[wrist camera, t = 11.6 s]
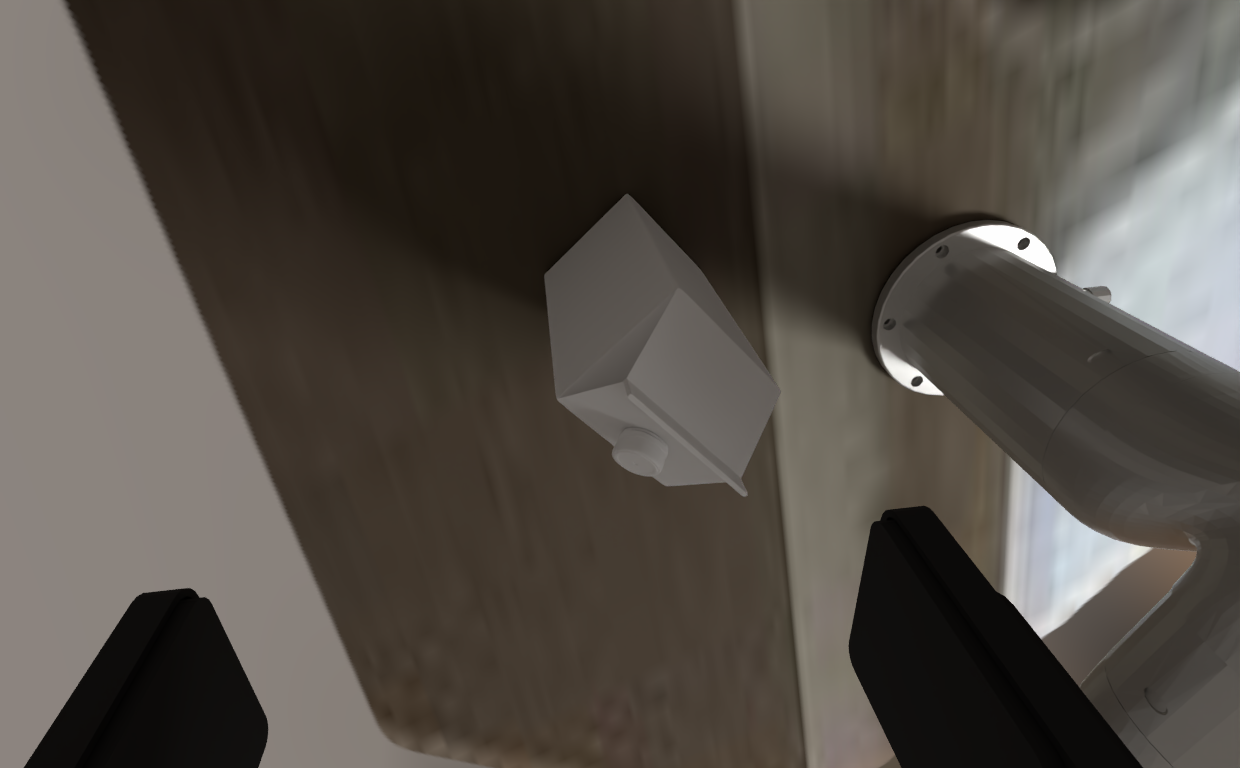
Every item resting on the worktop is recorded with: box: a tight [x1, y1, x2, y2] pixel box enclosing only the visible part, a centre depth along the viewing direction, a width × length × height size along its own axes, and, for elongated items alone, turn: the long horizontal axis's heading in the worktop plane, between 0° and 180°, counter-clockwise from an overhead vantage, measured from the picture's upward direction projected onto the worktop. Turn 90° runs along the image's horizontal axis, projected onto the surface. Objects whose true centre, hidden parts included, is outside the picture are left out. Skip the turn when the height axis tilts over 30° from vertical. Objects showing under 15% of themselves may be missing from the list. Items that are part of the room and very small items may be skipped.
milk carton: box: [544, 194, 781, 497], centre depth 34 cm, size 7×7×19 cm
